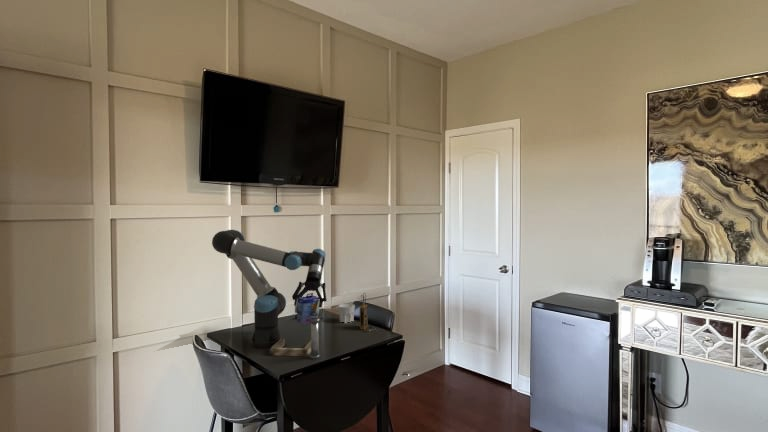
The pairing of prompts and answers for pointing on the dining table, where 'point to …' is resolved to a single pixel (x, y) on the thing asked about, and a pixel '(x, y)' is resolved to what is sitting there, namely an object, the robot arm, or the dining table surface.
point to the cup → (346, 312)
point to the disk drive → (318, 317)
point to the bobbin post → (314, 338)
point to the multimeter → (363, 315)
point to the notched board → (289, 349)
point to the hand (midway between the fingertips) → (306, 312)
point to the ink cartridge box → (306, 308)
